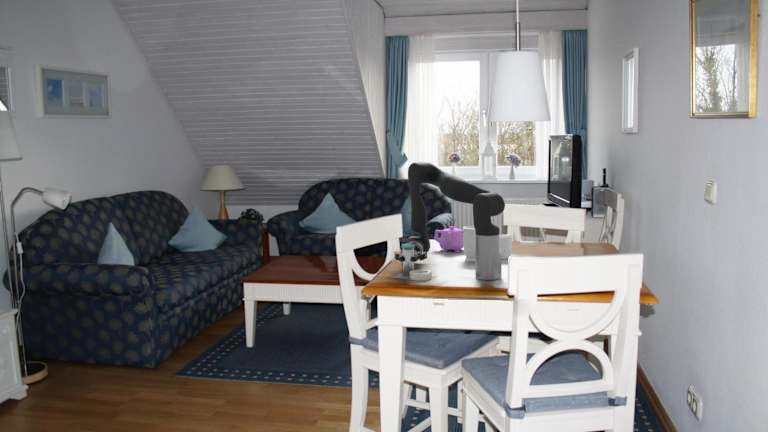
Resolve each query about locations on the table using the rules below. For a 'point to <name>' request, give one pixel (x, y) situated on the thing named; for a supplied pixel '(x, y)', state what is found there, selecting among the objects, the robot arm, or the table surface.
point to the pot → (450, 239)
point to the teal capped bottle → (408, 258)
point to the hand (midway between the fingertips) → (407, 259)
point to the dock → (417, 275)
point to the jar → (469, 243)
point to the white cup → (505, 245)
